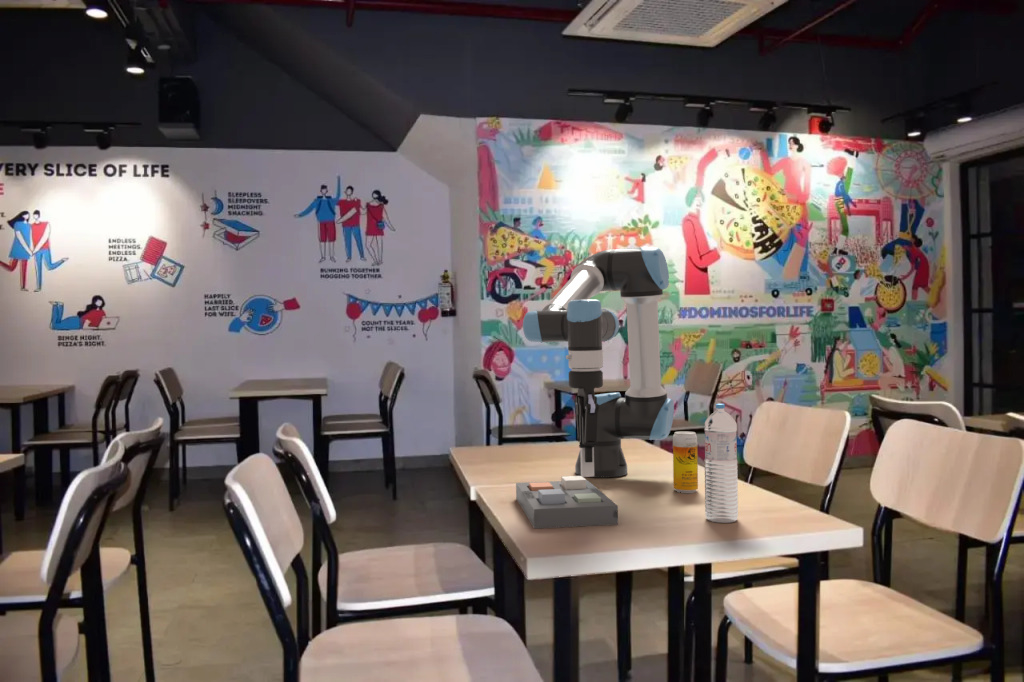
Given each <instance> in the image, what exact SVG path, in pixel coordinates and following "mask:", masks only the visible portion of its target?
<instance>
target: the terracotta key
mask: <svg viewBox="0 0 1024 682" xmlns="http://www.w3.org/2000/svg"><path fill="white" fill-rule="evenodd" d="M539 482H540V483H529V490H530V491H538V490H547V489H553V486H552V485H551V484H550V483H549V482H550V481H539Z"/></svg>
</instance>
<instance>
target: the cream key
mask: <svg viewBox="0 0 1024 682" xmlns="http://www.w3.org/2000/svg"><path fill="white" fill-rule="evenodd" d="M586 480H587V479H586V477H582V476H581V475H569V476H561V479H560V481H561V487H562V488H563V489H564V490H566V489H586Z"/></svg>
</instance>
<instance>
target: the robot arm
mask: <svg viewBox="0 0 1024 682" xmlns="http://www.w3.org/2000/svg"><path fill="white" fill-rule="evenodd" d="M669 279H670V276H669V267H668V263H667V259H666V257H665V255H664V252H663V251H662V250H661V249H660V248H659V247H656V246H655V247H653V246H641V247H631V248H629V247H627V248H614V249H613V248H612V249H605V250H601V251H599V252H596V253H594V254H592V255H590V256H588V257H587V258H586V259H584V260H583V261H581V262H580V263H579V264H578V265H577V266H575V268H573V270H572V271H571V274H570V279H569V280H567V282H566V283H565V284H564V285H563V287H561V288H560V290H558V292H557V293H556V294H555V295H554V297H552V299H550V301H549V302H548V303H547V304H546V305H545V306H544V308H542V310H538V309H537V310H533V311H531V310H530V311H528V312H526V313H525V315H524V317H523V320H522V330H523V334H524V337H525V339H526V340H527V341H528V342H531V343H532V342H533V343H558V342H559V343H562V342H563V343H564V342H567V346H568V347H567V352H568V354H567V355H565V359H566V360H568V368H569V369H571V370H569V372H568V386H569V388H570V389H576V390H577V395H575V398H574V406H575V416H576V429H577V430H576V431H577V441H578V442H579V445H578V448H579V452H578V455H577V458H576V462H575V467H574V470H575V471H574V472H575V474H576V475H577V476H582V477H583V478H588V477H589V478H590V477H591V478H613V477H614V478H616V477H623V476H626V475H627V474H628V464H627V461H626V457H625V455H624V451H623V448H622V439H635V440H650V441H652V440H653V441H654V440H657V441H658V440H664V439H667V438H668V437H669V434H670V433H671V430H672V427H673V426H672V425H673V422H674V414H675V405H674V404H675V403H674V400H673V399H671V398H670V397H668V392H667V390H666V389H665V388H664V387H663V386H662V382H661V381H662V380H661V359H660V358H661V356H660V333H659V331H660V330H659V329H660V328H659V305H658V302H659V300H660V299H661V298H662V297H663V296H664V294H663V293H664V291H663V290H666V289H667V288H668V287H669V283H670V280H669ZM612 291H619V292H620V299H622V300H623V301H624V302H625V304H626V323H627V325H626V326H627V342H628V346H627V347H628V365H629V387H628V389H627V390H625V394H624V397H622V395H621V393H620V392H619V391H617V392H607V393H600V394H598V393H597V394H595V389H600V388H602V387H603V385H604V383H603V382H604V377H603V376H604V373H603V371H602V369H601V368H603V367H604V365H603V364H604V362H603V361H604V359H603V358H604V357H603V353H604V352H603V351H604V350H603V342H607V341H609V340H611V339H613V338H614V337H616V335H617V334H618V331H619V329H620V321H619V318H618V316H617V315H616V314H615V313H614V312H613V311H611V310H609V309H606V308H602V302H601V301H600V300H599V299H591V298H593V297H594V296H598V294H600V293H601V292H612Z"/></svg>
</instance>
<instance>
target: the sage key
mask: <svg viewBox="0 0 1024 682" xmlns="http://www.w3.org/2000/svg"><path fill="white" fill-rule="evenodd" d="M574 501H575V502H576V503H588V502H601V497H599V496H598V495H597V494H596V493H584V494H574Z"/></svg>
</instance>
